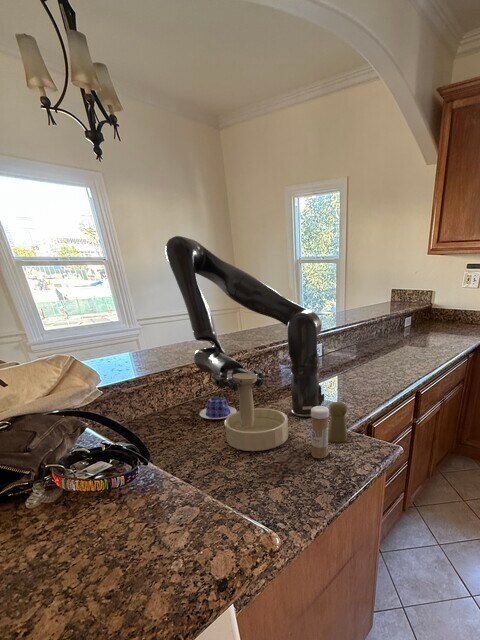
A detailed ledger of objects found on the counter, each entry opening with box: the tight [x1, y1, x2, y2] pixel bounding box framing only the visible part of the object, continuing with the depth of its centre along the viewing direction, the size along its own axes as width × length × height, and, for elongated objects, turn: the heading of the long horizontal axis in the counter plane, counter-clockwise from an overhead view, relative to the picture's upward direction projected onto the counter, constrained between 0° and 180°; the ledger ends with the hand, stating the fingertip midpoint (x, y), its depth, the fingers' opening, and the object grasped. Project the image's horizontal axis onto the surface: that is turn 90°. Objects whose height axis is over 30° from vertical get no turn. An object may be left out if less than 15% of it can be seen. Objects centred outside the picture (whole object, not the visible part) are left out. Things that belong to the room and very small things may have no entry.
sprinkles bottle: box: [310, 405, 330, 459], centre depth 92 cm, size 5×5×14 cm
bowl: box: [224, 407, 289, 452], centre depth 102 cm, size 18×18×6 cm
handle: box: [233, 373, 257, 429], centre depth 97 cm, size 5×6×15 cm
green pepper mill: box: [328, 401, 348, 444], centre depth 102 cm, size 6×6×11 cm
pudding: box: [199, 396, 237, 420], centre depth 118 cm, size 12×12×5 cm
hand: (248, 385), depth 93 cm, fingers closed on handle, 6 cm apart
